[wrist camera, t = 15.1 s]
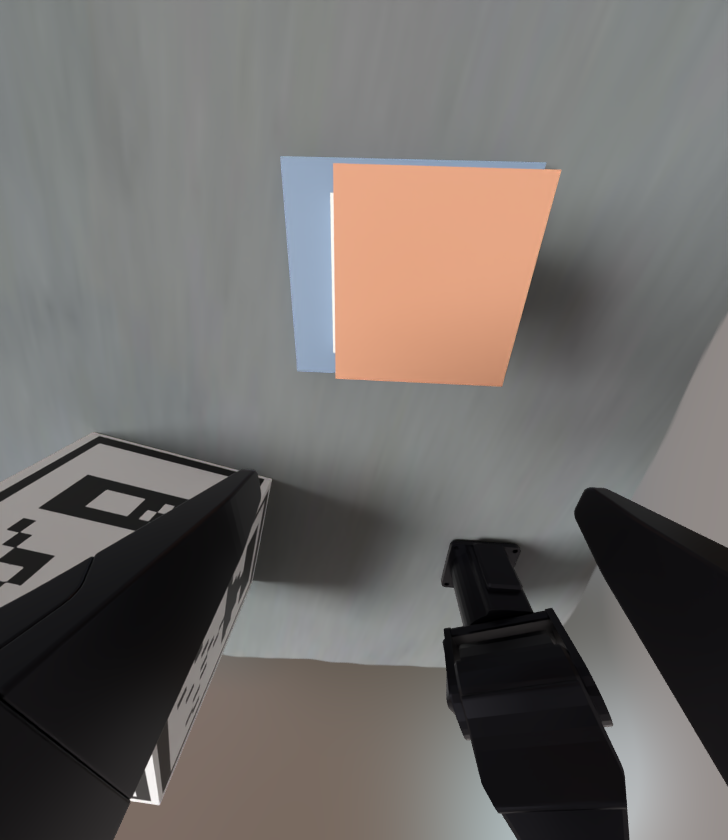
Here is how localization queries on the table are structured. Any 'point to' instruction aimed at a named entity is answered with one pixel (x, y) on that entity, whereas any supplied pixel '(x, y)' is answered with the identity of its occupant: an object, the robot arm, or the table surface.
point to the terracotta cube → (433, 268)
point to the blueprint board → (327, 247)
